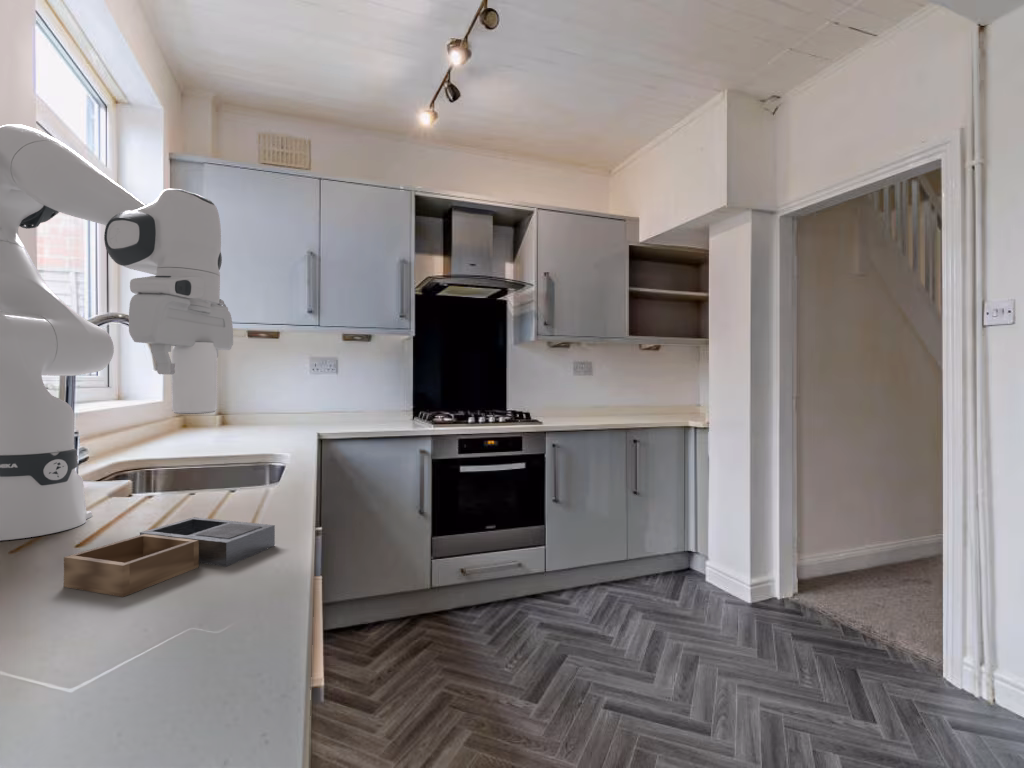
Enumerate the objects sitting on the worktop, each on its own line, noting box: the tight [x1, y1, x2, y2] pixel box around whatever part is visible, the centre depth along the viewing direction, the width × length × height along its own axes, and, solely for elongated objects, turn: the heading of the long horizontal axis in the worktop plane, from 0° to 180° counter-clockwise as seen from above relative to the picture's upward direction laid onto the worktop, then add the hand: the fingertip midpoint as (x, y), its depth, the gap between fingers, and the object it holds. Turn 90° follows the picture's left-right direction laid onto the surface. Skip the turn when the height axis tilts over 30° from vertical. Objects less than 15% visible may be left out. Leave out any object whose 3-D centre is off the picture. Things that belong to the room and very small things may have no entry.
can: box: [170, 341, 218, 415], centre depth 85 cm, size 6×6×12 cm
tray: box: [139, 516, 276, 568], centre depth 80 cm, size 17×9×4 cm, turn 73°
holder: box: [63, 534, 200, 598], centre depth 69 cm, size 11×11×4 cm
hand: (186, 374), depth 83 cm, fingers open, 8 cm apart
